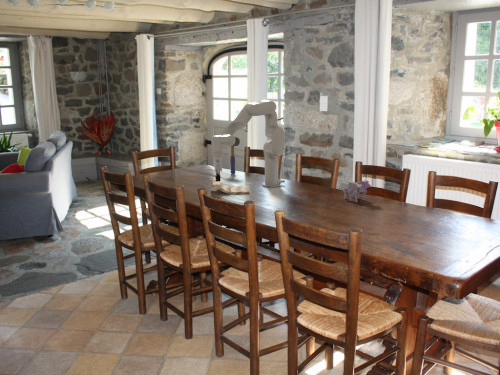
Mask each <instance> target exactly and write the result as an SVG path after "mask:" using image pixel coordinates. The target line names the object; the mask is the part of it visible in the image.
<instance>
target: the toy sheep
mask: <svg viewBox="0 0 500 375" xmlns="http://www.w3.org/2000/svg"><path fill="white" fill-rule="evenodd" d="M371 187H372V185H371V184H370V183H369V180H366V179H365V180H362V181H361V180H360V181H358V182H355V181H348V187H347V188H346V187H344V188H343V189H342V192H343V195H344V196H343V197H344V200H347V199H348V197H347V193H348V195H349V201H350V202H352V201H353V198H354V203H358V199H359V198H360V193H362V201H366V194H367V189H368V188H371Z"/></svg>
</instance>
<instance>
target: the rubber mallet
mask: <svg viewBox="0 0 500 375" xmlns="http://www.w3.org/2000/svg"><path fill="white" fill-rule="evenodd" d="M232 136H233V137H234V138H235V144H234V145H232V146H230V159H229V160H230V174H231V175H235V174H236V157H235V147H237V146H239V145H240V143H241V141H240V138H239V137H237V136H234V135H232Z"/></svg>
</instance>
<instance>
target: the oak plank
mask: <svg viewBox="0 0 500 375" xmlns="http://www.w3.org/2000/svg"><path fill="white" fill-rule="evenodd" d="M210 184H211V187H212V188H214V189H215V190H218V191H220V192H223V193H226V194H227V195H231V194H230V189H229V187H230V186H228V185H226V184H223V183H221V182H220V181H218V182H216V180H214V179H212V180H210Z"/></svg>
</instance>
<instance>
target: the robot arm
mask: <svg viewBox="0 0 500 375" xmlns="http://www.w3.org/2000/svg"><path fill="white" fill-rule="evenodd" d="M276 110H277V104H276V102H274V100H267V99H262V100H260V101H258V102H247V103H246V104H245V105H244V106H243V107H242V109H241V110H240V111H239V113H238V114H237V116H236V117H235V118H234V119H233V120H232V121H231V122H230V123H229V124H228V125H227V126H225V127H224V129H223V131H222V132H221V133H220V134H219V135H217V134H216V135H212V136H211V142H210V143H211V157H213V168H214V172H215V181H216V182H221V172H223V157H224V147H231V146H232V145H234V144H235V138H234V137H235V136H234V134H236V133H237V132H238V131H240V130H243V129H244V128H245V127H246V126H247V125H248V123H250V121H251V119H252V118H253V117H260V116H264V119H265V130H264V131H265V134H264V135H265V137H266V138H267V139H269V140H268V141H265V143H264V144H263V147H262V148H263V156H264V157H263V158H264V182H263V183H262V186H263V187H267V188H277V187H280V186H281V183H282V184H285V183H286V180H285V179H279V156H282V155H283V154H284V151H285V144H286V142H285V136H286V134H285V130H284V129H283V128H282V126H280V125H279V122H278V119H279V117H278V113H277V111H276ZM233 136H234V137H233Z"/></svg>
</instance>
